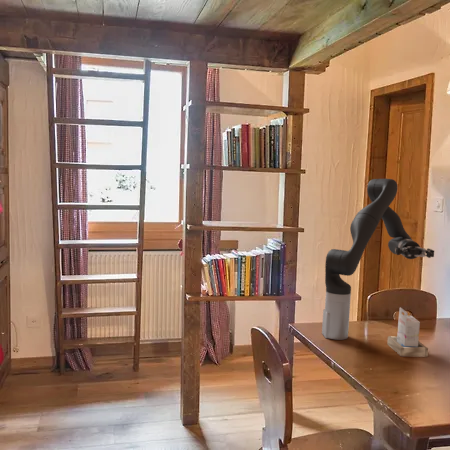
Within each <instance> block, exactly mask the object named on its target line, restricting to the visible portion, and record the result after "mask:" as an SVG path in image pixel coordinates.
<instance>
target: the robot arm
mask: <svg viewBox="0 0 450 450" xmlns="http://www.w3.org/2000/svg"><path fill="white" fill-rule="evenodd" d="M398 187H399V186H398V182H397V181H396V180H395V179H393V178H372V179H371V180H369V182H368V183H367V189H366V192H367V195H368V198H369V200H370V201H371V203H369V204H367V205H366V206H364V207H363V208H362V209H360V210H359V211H358V212H357V213H356V215H355V216H354V217H353V220H352V222H351V224H350V226H349V228H350V236H351V238H352V245H351V247H350V248H349V250H343V249H336V248H333V249H330V250H329V251H328V252H327V254H326V256H325V264H324V266H325V267H324V268H325V271H324V272H325V274H324V275H325V276H324V279H325V281H324V284H325V299H324V301H325V302H324V309H323V310H322V311H323V312H322V324H321V334H322V336H323V337H324V338H325V339H329V340H330V339H331V340H336V341H337V340H338V341H339V340H341V341H342V340H347V339H348V338H349V326H350V324H349V323H350V311H351V298H352V297H351V295H352V286H351V285H350V284H349V283H348V282H346V281H345V280H343V278H341V276H353V275H354V273H355V272H356V270H357V268H358V267H359V264H360V261H361V258H362V256H363V254H364V251H365V249H366V247H367V245H368V244H369V241H370V240H371V238H372V236H373V234H374V233H375V231H376V229H377V227H378V225H379V223H380V221H381V220H382V221H383V224H384V227H385V230H386V231H387V234H388V236H389V237H390V238H391V239H389V241H388V243H387V245H388V246H387V247H388V249H389V251H390V252H391V253H392V254H394V255H397V256H403V257H404V258H406V259H407V260H415V259H417V258H418V257H420V258H425V257H426V258H428V259H431V258H434V257H435V250H433V249H432V248H424V247H421V246H420V244H419V243H417V242H416V241H414V240H413V239H412V237H411V235H410V234H408V232H407V231H406V229H405V228H404V225H403V222H402V220H401V218H400V216H399V214H398V213H397V212H396V211H395V210H393V209H392V208H391V207H390V206H391V204H392V202H393V201H394V200H395V198H396V195H397V194H398Z"/></svg>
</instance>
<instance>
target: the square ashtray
mask: <svg viewBox="0 0 450 450" xmlns="http://www.w3.org/2000/svg"><path fill="white" fill-rule="evenodd" d="M386 343H387V346H388V347H390V348H391V349H392V350H393V351H394V352H395V353H396V352H397V353H396V354H398V355H399V356H400V357H413V358H419V357H420V358H423V357H424V358H429V357H428V356H429V347H427V346H426V345H425V344H423V343H422V342H421V341H420V340H418V347H402V346H401V345H400V344H399V343H398V342H397V336H392V335H388V336H387V342H386Z"/></svg>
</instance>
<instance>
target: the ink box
mask: <svg viewBox="0 0 450 450" xmlns="http://www.w3.org/2000/svg"><path fill="white" fill-rule="evenodd" d="M398 310H399V312H398V321H397V322H398V323H397V334H396V335H397V342H398V343H399V344H400V345H401V346H402V347H418V341H419V340H420V339H419V338H420V337H419V335H420V325H421V322H420V321H419V320H418V319H416V318H415V317H414V316H413V315H408V312H407V311H406V310H405V309H404V308H402V307H399V309H398Z"/></svg>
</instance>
